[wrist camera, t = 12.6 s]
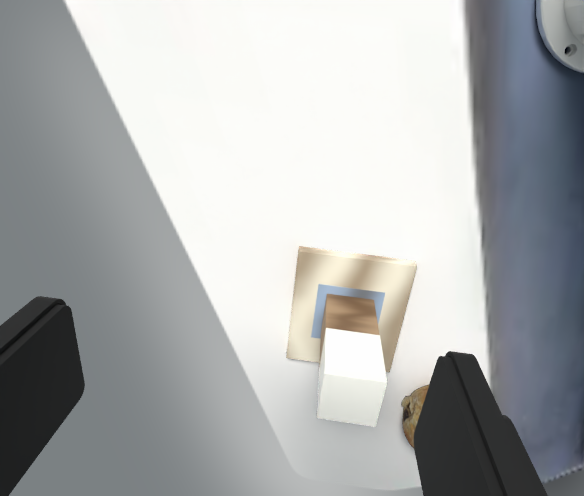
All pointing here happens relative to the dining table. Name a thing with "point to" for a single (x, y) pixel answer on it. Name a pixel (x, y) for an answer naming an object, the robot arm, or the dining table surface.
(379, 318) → the birch board
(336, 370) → the cream block
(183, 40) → the dining table surface
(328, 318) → the walnut block
